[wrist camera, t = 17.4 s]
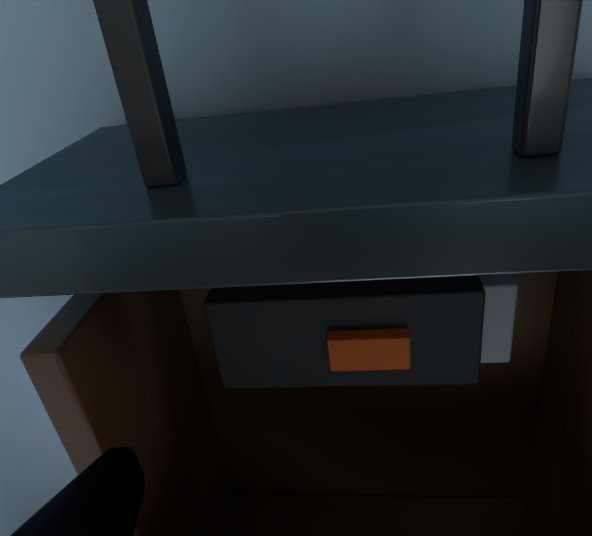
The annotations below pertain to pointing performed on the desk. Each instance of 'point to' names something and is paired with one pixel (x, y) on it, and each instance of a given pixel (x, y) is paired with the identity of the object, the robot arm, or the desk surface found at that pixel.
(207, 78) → the desk surface
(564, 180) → the drawer
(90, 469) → the robot arm
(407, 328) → the black block orange patch
